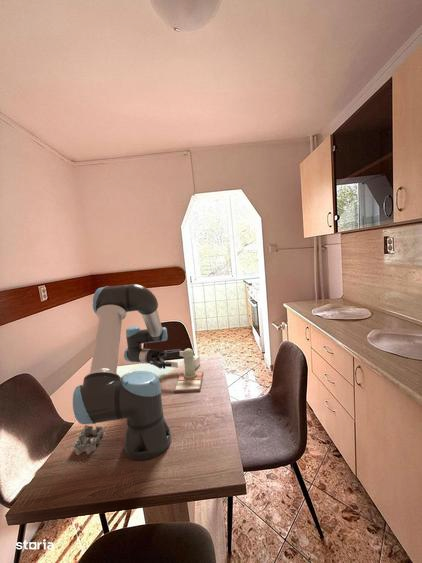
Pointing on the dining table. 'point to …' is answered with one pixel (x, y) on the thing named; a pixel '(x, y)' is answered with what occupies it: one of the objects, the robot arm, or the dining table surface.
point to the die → (196, 361)
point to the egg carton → (88, 439)
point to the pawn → (189, 364)
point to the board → (189, 383)
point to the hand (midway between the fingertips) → (184, 359)
